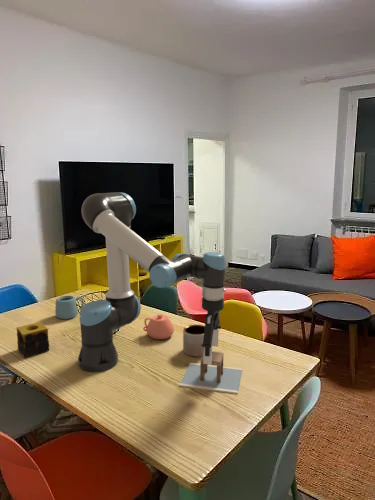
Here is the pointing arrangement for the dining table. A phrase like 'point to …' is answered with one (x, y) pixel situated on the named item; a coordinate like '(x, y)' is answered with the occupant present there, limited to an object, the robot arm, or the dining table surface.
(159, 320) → the sugar bowl
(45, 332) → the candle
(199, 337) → the planter
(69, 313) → the mug
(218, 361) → the stool
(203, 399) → the dining table surface
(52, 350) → the dining table surface
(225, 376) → the rug
